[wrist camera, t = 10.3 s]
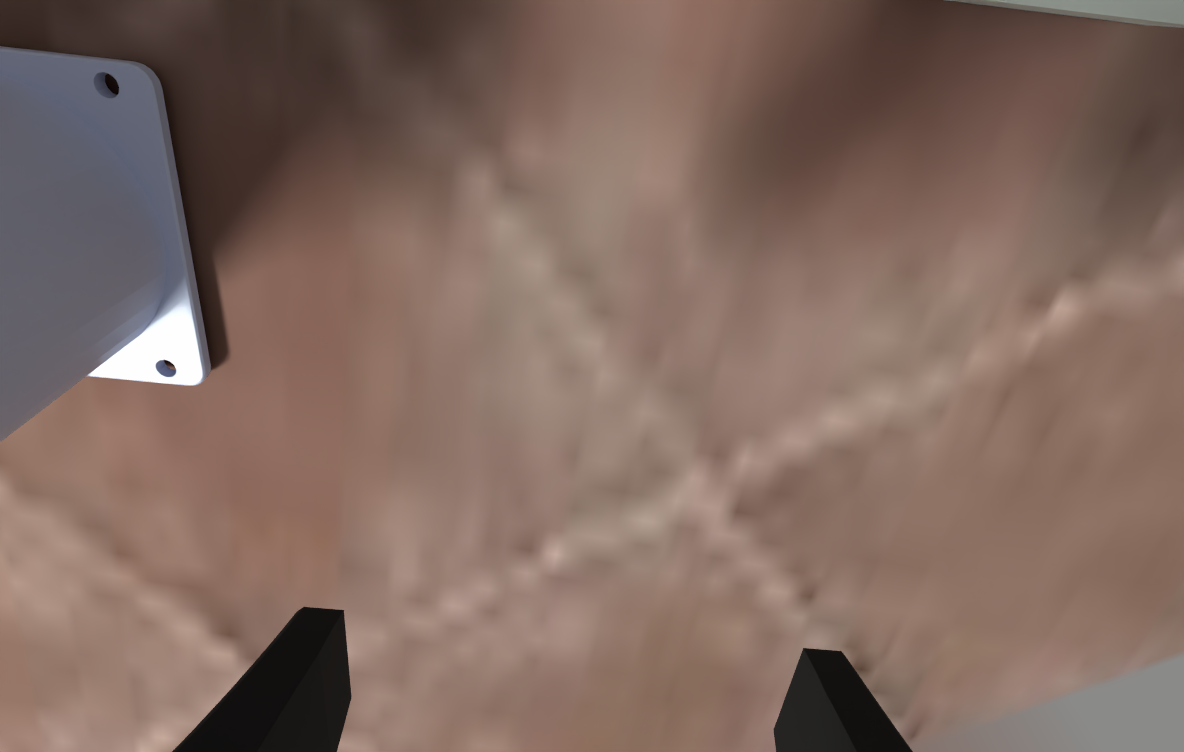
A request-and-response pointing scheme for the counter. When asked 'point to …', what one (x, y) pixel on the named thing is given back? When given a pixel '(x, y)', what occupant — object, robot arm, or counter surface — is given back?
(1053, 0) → the tray
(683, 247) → the counter surface
